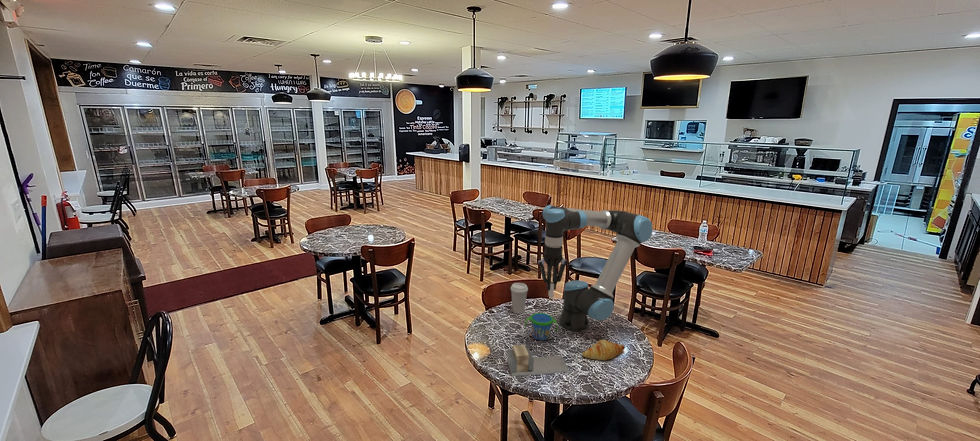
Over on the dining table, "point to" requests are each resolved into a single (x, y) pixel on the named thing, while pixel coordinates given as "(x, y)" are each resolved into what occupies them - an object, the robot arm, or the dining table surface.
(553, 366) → the vise bed
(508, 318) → the dining table surface
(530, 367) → the sliding jaw
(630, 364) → the dining table surface
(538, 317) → the snack cup
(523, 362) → the block
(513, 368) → the fixed jaw
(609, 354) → the croissant
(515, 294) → the coffee cup
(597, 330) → the dining table surface
